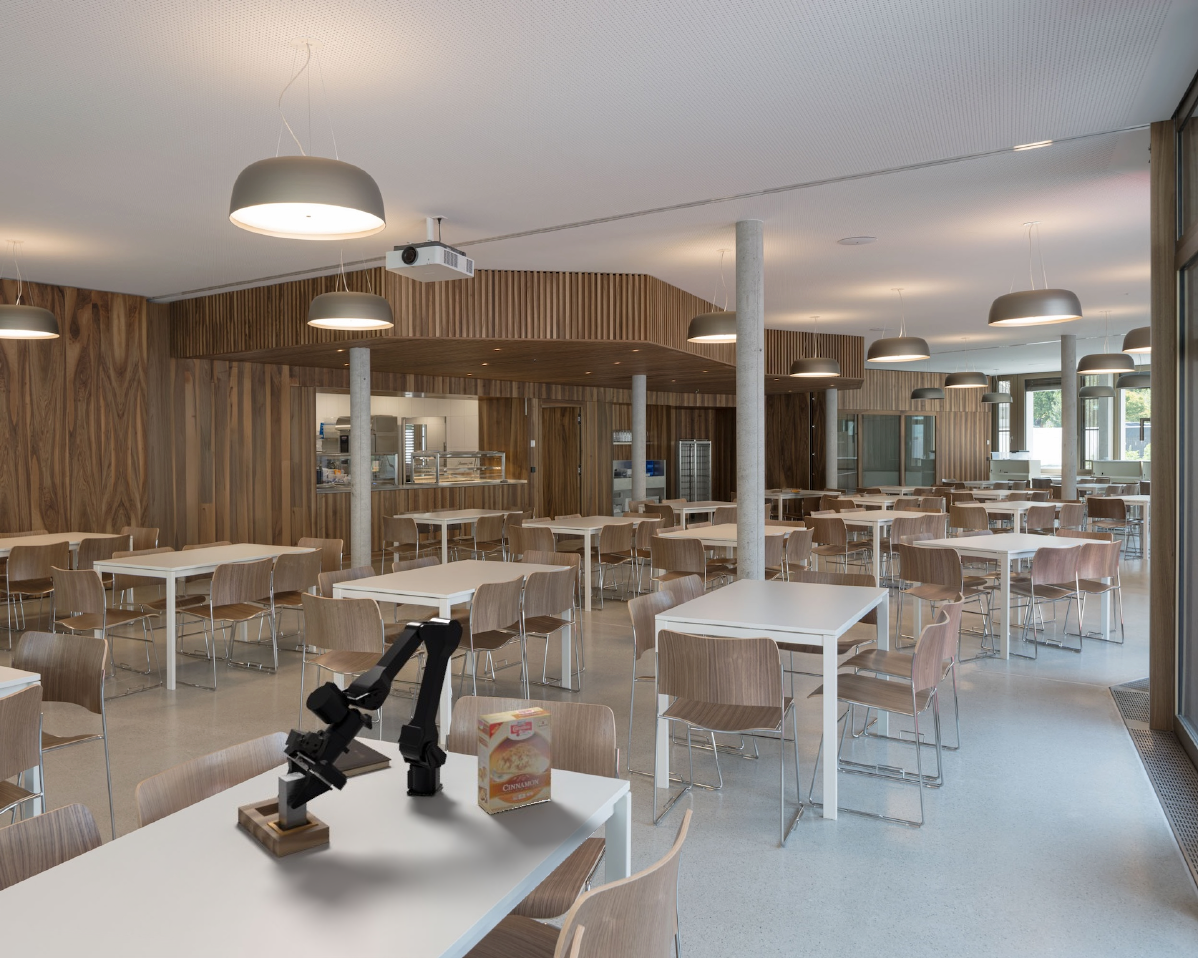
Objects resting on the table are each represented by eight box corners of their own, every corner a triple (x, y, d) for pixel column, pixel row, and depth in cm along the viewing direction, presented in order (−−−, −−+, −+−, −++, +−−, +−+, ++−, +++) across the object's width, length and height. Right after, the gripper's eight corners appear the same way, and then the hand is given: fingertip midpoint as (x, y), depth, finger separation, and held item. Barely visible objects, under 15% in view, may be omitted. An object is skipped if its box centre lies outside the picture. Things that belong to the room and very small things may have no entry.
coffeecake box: (489, 815, 177) (489, 723, 177) (476, 804, 184) (476, 715, 183) (552, 801, 185) (552, 713, 185) (538, 790, 191) (537, 705, 191)
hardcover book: (351, 745, 225) (351, 736, 225) (391, 768, 208) (391, 758, 208) (292, 758, 215) (292, 749, 215) (328, 783, 197) (328, 773, 197)
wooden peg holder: (238, 821, 174) (238, 805, 174) (285, 808, 181) (285, 793, 181) (278, 857, 158) (278, 839, 158) (329, 841, 165) (329, 824, 165)
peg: (278, 839, 166) (278, 776, 166) (298, 833, 168) (298, 771, 168) (286, 845, 163) (286, 781, 163) (306, 839, 166) (306, 776, 166)
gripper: (293, 703, 175) (238, 768, 168) (331, 723, 161) (274, 795, 154) (329, 733, 180) (278, 797, 173) (369, 754, 167) (316, 825, 159)
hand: (285, 803), depth 165 cm, fingers open, 6 cm apart
